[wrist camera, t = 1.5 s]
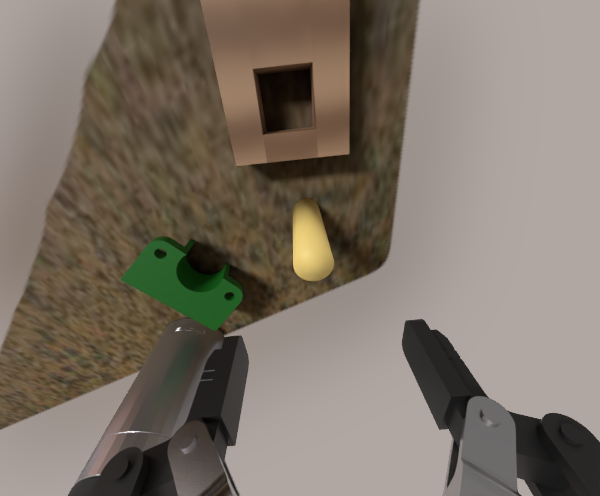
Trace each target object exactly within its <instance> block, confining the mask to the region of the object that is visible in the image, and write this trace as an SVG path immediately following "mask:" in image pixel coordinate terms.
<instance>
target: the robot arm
mask: <svg viewBox="0 0 600 496" xmlns="http://www.w3.org/2000/svg"><path fill="white" fill-rule="evenodd" d="M402 347H403V351H404V354H405V357H406V359H407V361H408V363H409V365H410V367H411V369H412V372H413V374H414V376H415V378H416V380H417V383H418V385H419V387H420V389H421V391H422V393H423V395H424V398H425V400H426V402H427V404H428V406H429V408H430V411H431V413H432V415H433V417H434V419H435V421H436V424H437V426H438V428H439V430H441V429H449V431H450V432H451V435H452V437H453V438H452V443H451V449H450V456H449V462H448V469H447V475H446V482H445V487H444V492H443V496H521V495H520V494H519V493H518V489H517V478H520V479H523V480H525V482H526V484H527V485H528V487H529V489H530V491H531V492H532V494H533V495H534V496H600V442H599V441H598V440H597V439H596V437H595V436H594V435H593V434H592V433H591V432H590V431H589V430H588V429H587V428H585V427H584V426H583V425H582V424H580V423H578V422H577V421H575V420H574V419H572V418H570V417H567V416H565V415H562V414H558V413H549V414H546V415H545V416H544V417H543V418H542V420H541V419H537V418H533V417H528V416H524V415H519V414H516V413H512V412H509V411H507V410H506V409H505V408H504V407H503V406H502V405H500V404H499V403H497V402H496V401H494V400H492V399H490V398H489V397H488V396H487V395H486V394H485V393H484V391H483V390H482V389H481V387H480V385H479V384H478V382H477V381H476V380H475V378H474V377H473V375H472V374H471V373H470V371H469V369H468V368H467V366H466V365H465V363H464V362H463V361H462V360H461V359H460V356H459V355H458V353H457V352H456V351H455V350H454V347H453V346H452V344H451V343H450V342H449V340H448V339H447V338H446V337H445V336H444V335H443V334H441V333H440V332H439V331H438V330H430V328H429V327H428V325H427V324H426V322H425V321H424V320H423V319H418V320H408V321H406V322H405V327H404V333H403V339H402ZM248 364H249V360H248V354H247V351H246V348H245V344H244V342H243V338H242V336H230V337H224V335H223V333H222V332H221V331H220V330H219V329H217V330H216V331H214V330H212V329H210V328H208V327H206V326H204V325H203V324H201V323H199V322H197V321H195V320H193V319H192V318H186V319H180V320H176V321H174V322H172V323H170V324H169V325H168V326H167V327H166V328H165V329H164V331H163V333H162V335H161V336H160V338H159V340H158V341H157V343H156V345H155V347H154V348H153V350H152V352H151V353H150V355H149V357H148V358H147V360H146V362H145V364H144V365H143V367H142V369H141V370H140V372H139V374H138V376H137V377H136V379H135V381H134V382H133V384H132V386H131V388H130V389H129V391H128V393H127V395H126V396H125V398H124V400H123V402H122V403H121V405H120V407H119V408H118V410H117V412H116V413H115V415H114V417H113V419H112V420H111V422H110V424H109V425H108V427H107V429H106V431H105V433H104V434H103V436H102V438H101V439H100V441H99V443H98V445H97V447H96V448H95V450H94V452H93V453H92V455H91V457H90V459H89V460H88V462H87V464H86V466H85V467H84V469H83V471H82V472H81V474H80V476H79V477H78V479H77V481H76V483H75V485H74V487H73V488H72V489H71V491H70V493H69V494H68V496H240V494H239V492H238V489H237V487H236V484H235V482H234V480H233V478H232V475H231V473H230V471H229V468H228V466H227V464H226V461H225V454H226V449H227V446H234V445H235V444H236V438H237V432H238V425H239V420H240V414H241V408H242V402H243V396H244V389H245V384H246V378H247V372H248Z"/></svg>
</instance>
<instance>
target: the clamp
mask: <svg viewBox="0 0 600 496" xmlns="http://www.w3.org/2000/svg"><path fill="white" fill-rule="evenodd" d="M194 243H195V241H194V240H192V239H191V240H190V241H189V242H188V243H187V245H186V246H185V247H184V246H182V245H181V244H179V243H178V242H176V241H175V240H173V239H171V238H169V237H158V238H156V239H154V240H153V241H152V242H151V243H149V244H148V245H147V246H146V248H145V249H144V250H143V252H142V253H141V254H140V255H139V257H138V258H137V259H136V261H135V262H134V263H133V264H132V266H131V267H130V268H129V270H128V271H127V272H126V273H125V275H124V276H123V277H122V279H121V280H122V281H124V282H125V283H127V284H129V285H131V286H133V287H135V288H136V289H138V290H140V291H142V292H144V293H146V294H147V295H149V296H151V297H153V298H155V299H157V300H159V301H160V302H162V303H164V304H166V305H168V306H170V307H171V308H173V309H175V310H177V311H179V312H181V313H182V314H184V315H186V316H188V317H190V318H192V319H193V320H195V321H197V322H199V323H201V324H203V325H204V326H206V327H208V328H210V329H212V330H214V331H216V330H217V329H218V328H219V327H220V325H221V324H222V323H223V322H224V321H225V320H226V319H227V317H228V316H229V315H230V314H231V313H232V312H233V311H234V309H235V308H236V307H237V306H238V305H239V304H240V302H241V301H242V298H243V288H242V285H241V284H240V283H239V282H237V281H236V280H234V279H233V278H231V277H230V276H228V274H229V269H230V265H229V264H228V263H226V265H225V266H224V268H223V269H222V270H221V271H219V272H217V273H215V274H210V275H206V274H201V273H198V272H196V271H195V270H194V269H192V268H191V266H190V265H189V263H188V261H187V253H188V251H189V250H190V249H191V247H192V246H193V244H194ZM159 248H160V249H164V250H165V251H166V254H163V253H161V252H160V251H159ZM227 292H232V293H233V294H232V295H229V294H227Z"/></svg>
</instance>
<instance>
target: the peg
mask: <svg viewBox="0 0 600 496" xmlns="http://www.w3.org/2000/svg"><path fill="white" fill-rule="evenodd" d="M293 266H294V270H295V272H296V274H297V275H298V276H299V277H301V278H302V279H305V280H308V281H318V280H321V279H323V278H325V277H327V276H328V275H329V274H330V273H331V271H332V270H333V267H334V259H333V256H332V252H331V249H330V245H329V242H328V238H327V234H326V231H325V227H324V224H323V220H322V217H321V213H320V210H319V206H318V204H317V203H316V202H315V201H314V200H312V199H309V198H304V199H301V200H299V201H297V202H296V203H295V205H294V207H293Z"/></svg>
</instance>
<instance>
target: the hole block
mask: <svg viewBox="0 0 600 496" xmlns="http://www.w3.org/2000/svg"><path fill="white" fill-rule="evenodd" d="M200 1H201V6H202V10H203V15H204V19H205V24H206V29H207V33H208V38H209V42H210V47H211V52H212V56H213V61H214V65H215V70H216V75H217V79H218V84H219V88H220V93H221V98H222V102H223V107H224V111H225V116H226V121H227V125H228V130H229V134H230V139H231V144H232V148H233V153H234V157H235V162H236V166H242V165H251V164H260V163H270V162H279V161H289V160H298V159H307V158H317V157H326V156H336V155H345V154H349V109H350V0H200ZM306 69H310V83H311V99H312V115H313V127H306V128H296V129H287V130H278V131H269V132H267V131H266V124H265V117H264V111H263V104H262V97H261V91H260V84H259V77H258V75H262V74H271V73H279V72H288V71H297V70H306Z"/></svg>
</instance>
